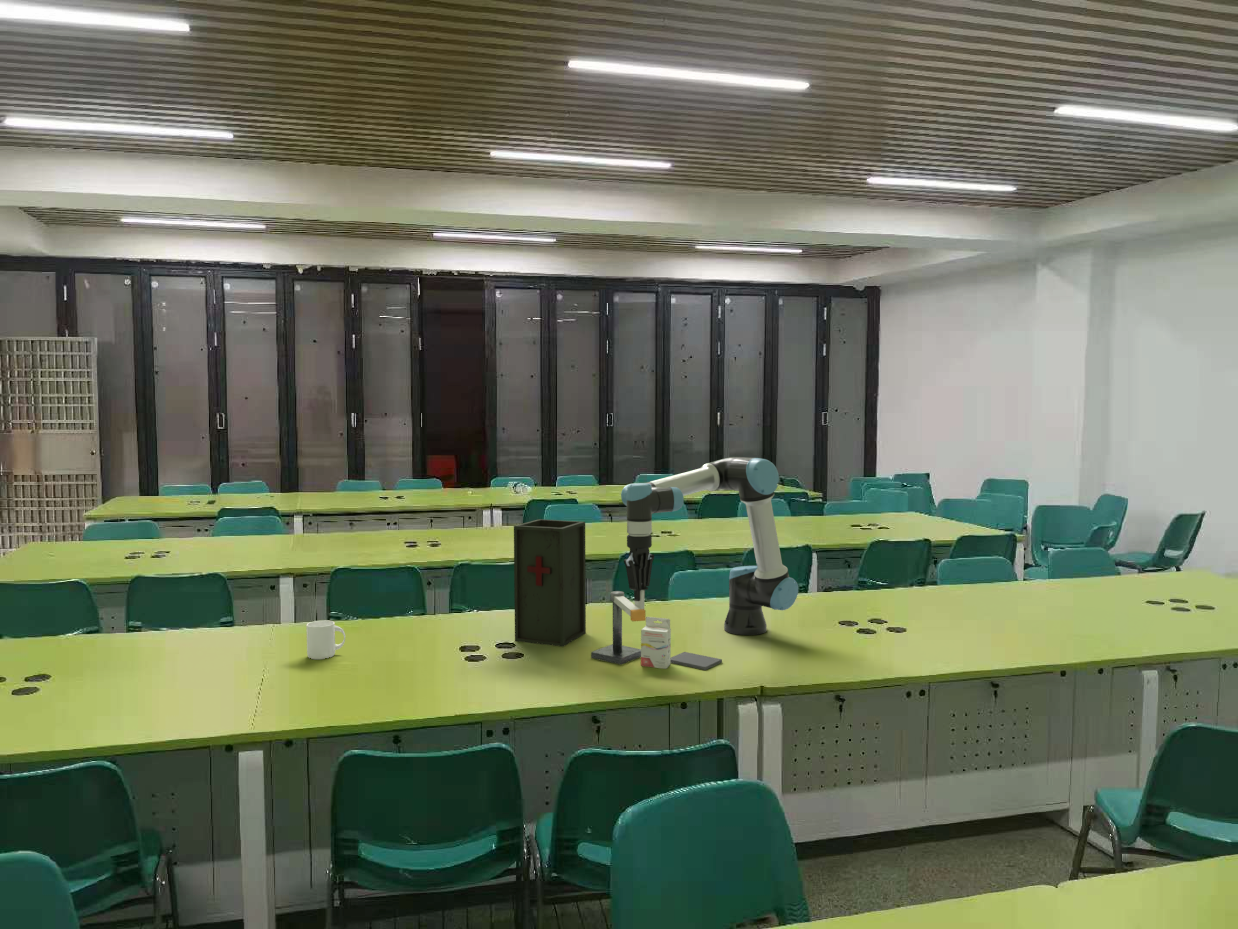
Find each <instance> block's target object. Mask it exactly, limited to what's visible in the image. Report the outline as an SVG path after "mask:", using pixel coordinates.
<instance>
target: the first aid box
mask: <svg viewBox="0 0 1238 929" xmlns="http://www.w3.org/2000/svg"><path fill="white" fill-rule="evenodd" d="M586 572H587V571H586V521H579V520H578V521H577V520H576V521H575V520H561V519H560V520H557V519H556V520H555V519H541V518H540V519H539V518H538V519H536V520H535V519H534V520H531V521H528V522H524V523H520V524H516V525H513V576H514V578H513V579H514V580H513V587H514V588H513V589H514V590H513V592H514V593H513V595H514V599H513V600H514V642H519V643H528V644H536V645H542V646H543V645H544V646H553V647H562V648H564V647H565V646H567V645H569V644H570V643H572V642H573V641H575V640H577V639H578V638H580V637H582V636H584V635H585V634H587V631H586V630H587V627H586V625H587V622H586V619H587V617H586V616H587V615H586V614H587V613H586V612H587V611H586V607H587V605H586V604H587V603H586V602H587V601H586V598H587V597H586V592H587V591H586V586H587V584H586V579H587V578H586Z"/></svg>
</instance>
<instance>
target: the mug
mask: <svg viewBox="0 0 1238 929" xmlns="http://www.w3.org/2000/svg"><path fill="white" fill-rule="evenodd" d="M335 624H336V623H335V621H333V620H328V619H326V620H325V619H321V620H314V621H310V622H308V623H307V624H306V625H305V626H306V654H307V657H308V658H309V659H310V658H311V660H325V658H327V659H329V657H330V658H333V657H334V656H335V654H336V651H337V650H339V649H341V648H342V647H343V646H344V644H345V642H346V632H345V631H344V629H343V628H341V627H340V626H338V625H335ZM336 632H340V633H341V634H342V635H343V640H342V642H341V643H339V644H337V643H336Z"/></svg>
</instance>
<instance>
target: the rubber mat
mask: <svg viewBox="0 0 1238 929" xmlns="http://www.w3.org/2000/svg"><path fill="white" fill-rule="evenodd" d="M721 663H723V659H722V658H717V657H712V656H707V655H704V654H703V655H702V654H698V653H697V654H696V653H693V652H687V651H683V652H681V653H678V654H675V655H674V656H670V664H673V665H674V664H675V665H679V666H683V667H689V668H693V669H698V670H703V671H708V670H709V669H711V668H714V667H715V666H718V665H719V664H721Z"/></svg>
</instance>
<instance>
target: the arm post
mask: <svg viewBox="0 0 1238 929" xmlns="http://www.w3.org/2000/svg"><path fill="white" fill-rule="evenodd" d="M590 655H591V656H590V658H591V659H594V660H599V661H603V662H607V663H611V664H615V665H619V666H621V665H624V664H626V663H629V662H631V661H634V660H637V659H639V658H641V648H637V647H631V646H627V645H623V610H622V609H621V608H620V607H619V606H618V605H617V604H615V603H614V602H613V601H612V644H609V645H607V646H604V647H601V648H598V649H596V650H595V649H594V650H593V651H590Z"/></svg>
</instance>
